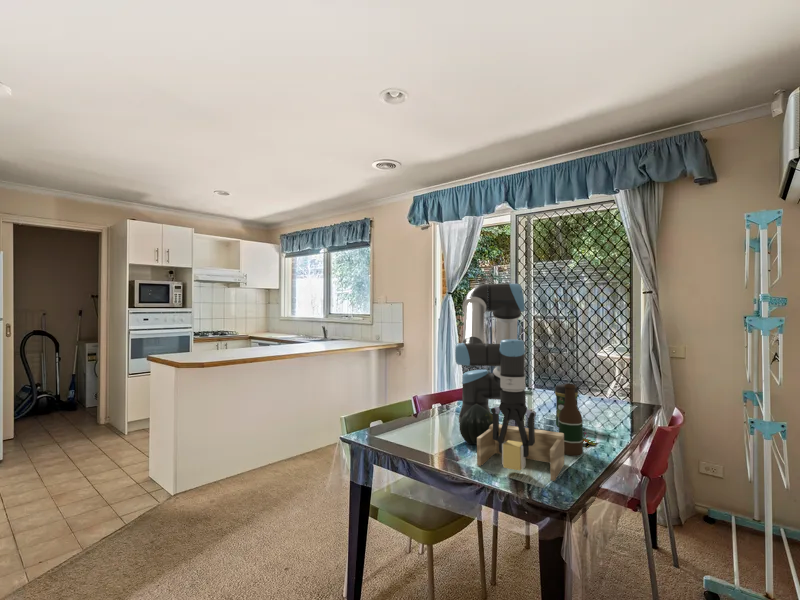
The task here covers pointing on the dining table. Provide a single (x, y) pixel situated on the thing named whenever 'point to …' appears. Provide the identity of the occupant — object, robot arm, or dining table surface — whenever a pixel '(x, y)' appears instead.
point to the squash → (475, 423)
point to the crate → (543, 449)
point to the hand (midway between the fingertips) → (513, 465)
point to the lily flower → (588, 440)
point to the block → (512, 455)
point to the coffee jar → (562, 399)
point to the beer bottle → (571, 423)
